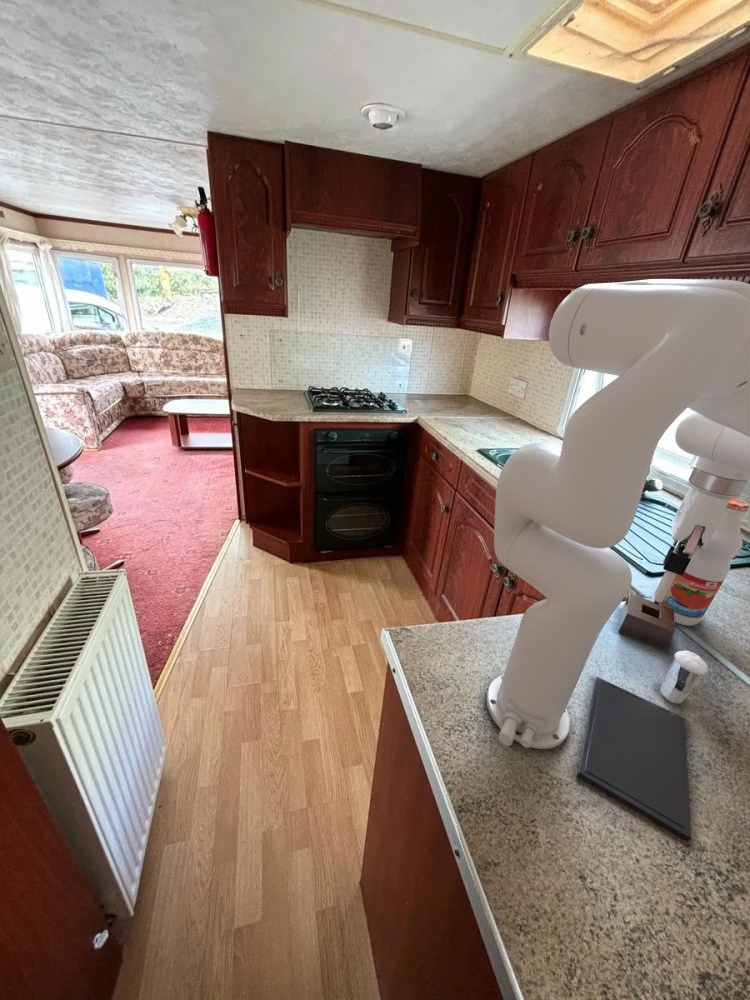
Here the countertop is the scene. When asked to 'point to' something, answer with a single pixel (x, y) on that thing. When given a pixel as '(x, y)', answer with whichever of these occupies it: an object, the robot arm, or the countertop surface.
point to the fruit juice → (706, 569)
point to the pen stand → (647, 622)
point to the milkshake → (683, 676)
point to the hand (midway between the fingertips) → (672, 568)
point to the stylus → (664, 587)
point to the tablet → (637, 756)
